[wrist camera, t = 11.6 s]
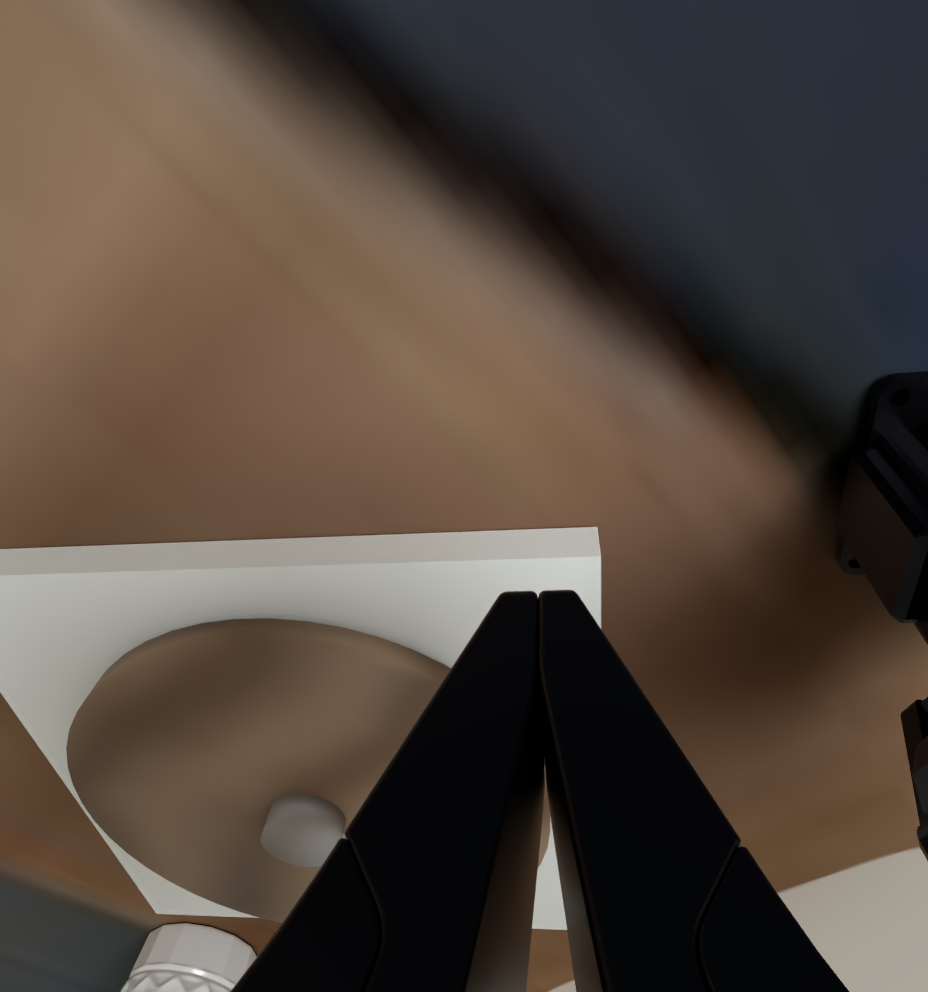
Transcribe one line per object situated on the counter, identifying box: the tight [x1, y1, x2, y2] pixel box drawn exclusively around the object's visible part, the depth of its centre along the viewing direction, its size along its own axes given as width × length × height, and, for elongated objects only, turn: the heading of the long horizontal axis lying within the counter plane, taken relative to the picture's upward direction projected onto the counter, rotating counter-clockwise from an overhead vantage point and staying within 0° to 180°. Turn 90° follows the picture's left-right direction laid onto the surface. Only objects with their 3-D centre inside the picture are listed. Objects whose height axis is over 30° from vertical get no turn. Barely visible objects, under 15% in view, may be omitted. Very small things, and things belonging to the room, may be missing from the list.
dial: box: [66, 618, 550, 923], centre depth 23 cm, size 19×19×11 cm
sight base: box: [0, 527, 601, 930], centre depth 28 cm, size 23×23×4 cm
